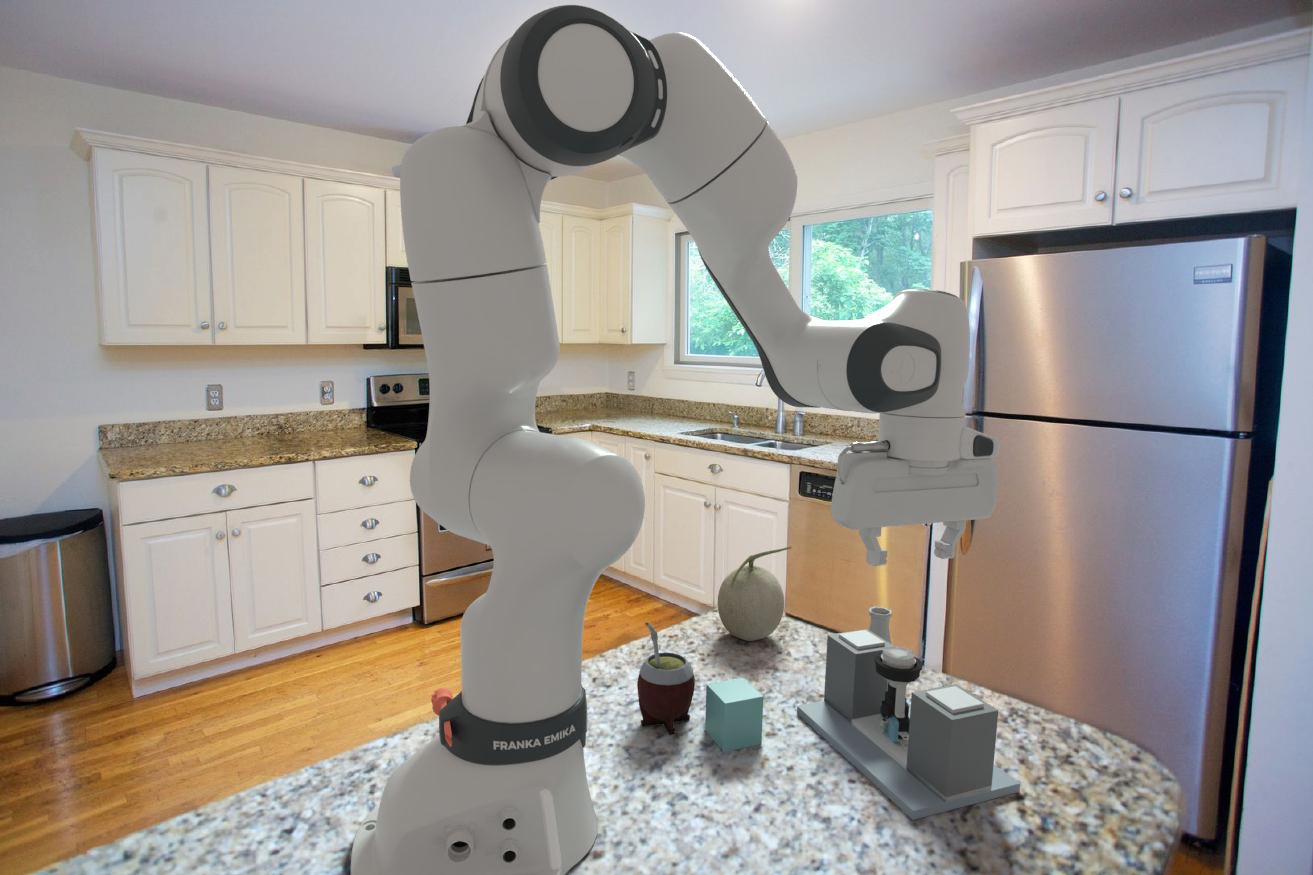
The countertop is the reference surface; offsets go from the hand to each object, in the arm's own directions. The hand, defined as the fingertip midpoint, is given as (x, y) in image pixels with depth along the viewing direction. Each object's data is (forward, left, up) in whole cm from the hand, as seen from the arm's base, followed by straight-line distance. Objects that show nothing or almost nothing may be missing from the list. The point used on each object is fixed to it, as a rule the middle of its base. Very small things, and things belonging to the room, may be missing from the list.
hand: (910, 560), depth 83 cm
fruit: (-2, +34, -23) cm, 41 cm away
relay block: (-17, +9, -17) cm, 26 cm away
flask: (+9, +16, -23) cm, 29 cm away
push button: (0, 0, -21) cm, 21 cm away
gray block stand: (0, 0, -23) cm, 23 cm away
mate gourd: (-24, +14, -23) cm, 36 cm away
